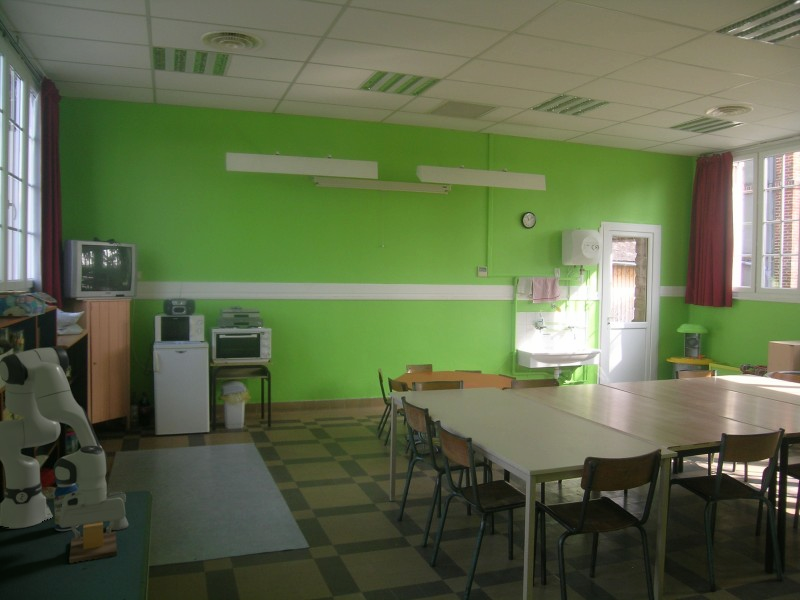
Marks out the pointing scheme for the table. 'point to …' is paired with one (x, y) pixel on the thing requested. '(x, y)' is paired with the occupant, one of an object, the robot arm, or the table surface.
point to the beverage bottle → (58, 501)
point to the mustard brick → (93, 535)
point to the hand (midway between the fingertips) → (93, 535)
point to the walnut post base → (93, 549)
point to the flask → (119, 524)
